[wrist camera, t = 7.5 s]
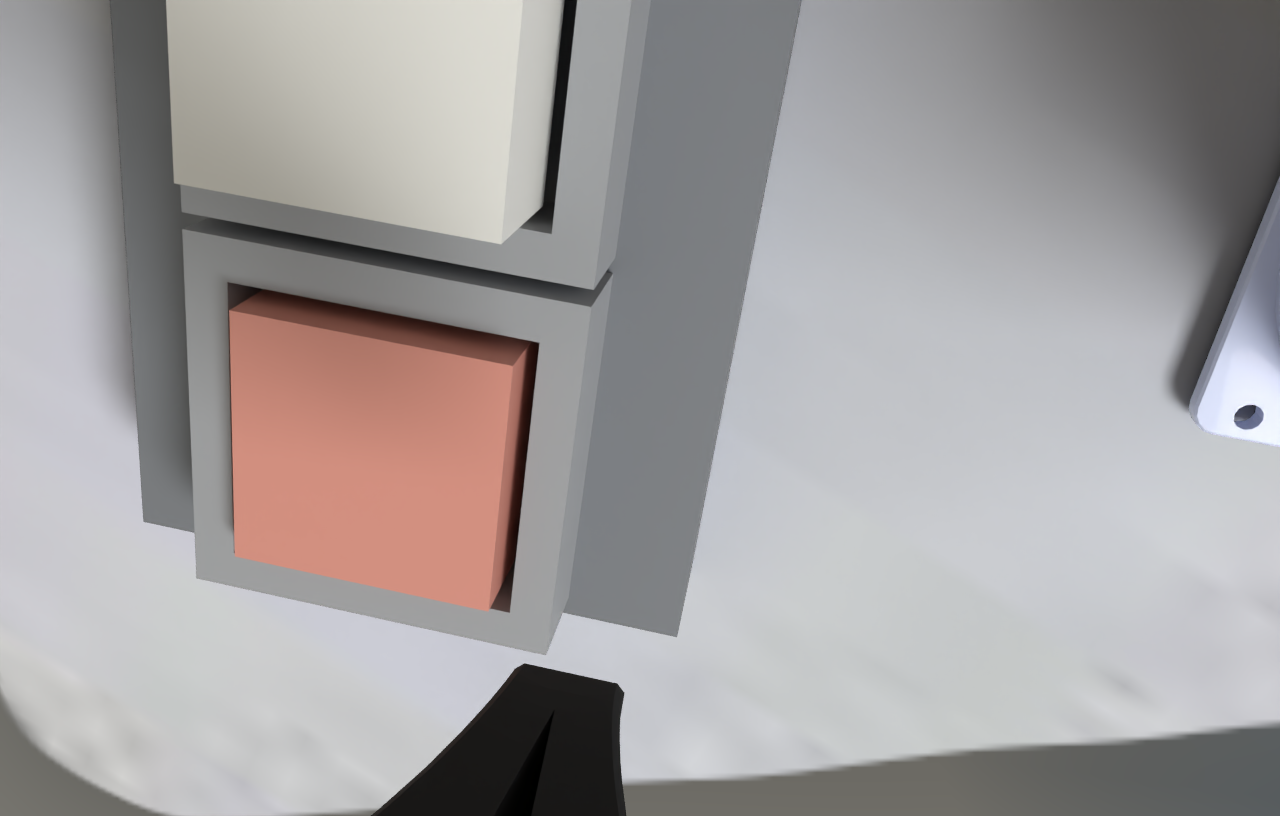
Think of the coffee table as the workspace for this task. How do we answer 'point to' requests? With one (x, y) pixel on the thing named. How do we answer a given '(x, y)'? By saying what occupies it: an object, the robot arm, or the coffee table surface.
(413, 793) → the robot arm
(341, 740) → the coffee table surface
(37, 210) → the coffee table surface
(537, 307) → the key panel
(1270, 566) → the coffee table surface
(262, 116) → the white key
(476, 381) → the salmon pink key
